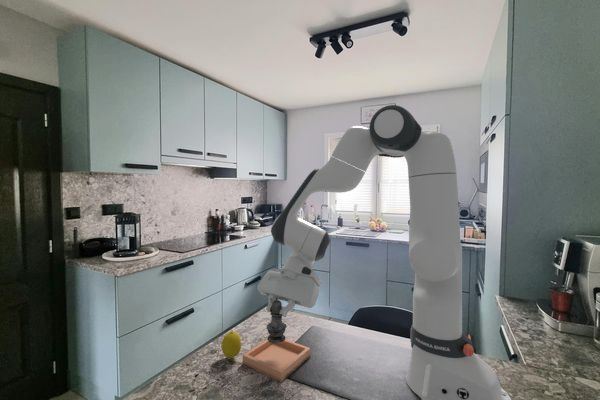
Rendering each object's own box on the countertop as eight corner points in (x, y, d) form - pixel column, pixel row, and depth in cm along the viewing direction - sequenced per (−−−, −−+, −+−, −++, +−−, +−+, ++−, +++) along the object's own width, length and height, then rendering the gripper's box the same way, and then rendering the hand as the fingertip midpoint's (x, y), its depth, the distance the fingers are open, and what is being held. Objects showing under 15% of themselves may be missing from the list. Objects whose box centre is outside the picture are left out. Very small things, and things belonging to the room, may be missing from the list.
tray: (310, 356, 81) (310, 348, 81) (281, 382, 69) (281, 372, 69) (274, 342, 89) (274, 335, 89) (242, 363, 77) (242, 354, 77)
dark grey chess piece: (285, 343, 76) (286, 301, 76) (265, 343, 76) (265, 301, 76) (287, 333, 82) (287, 294, 82) (267, 333, 82) (268, 293, 82)
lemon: (236, 365, 76) (236, 336, 76) (218, 362, 78) (218, 334, 78) (244, 354, 82) (244, 327, 82) (227, 352, 83) (227, 326, 83)
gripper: (266, 262, 91) (244, 299, 83) (319, 272, 79) (300, 317, 71) (274, 272, 94) (254, 309, 86) (326, 283, 83) (308, 327, 75)
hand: (275, 313), depth 79 cm, fingers closed on dark grey chess piece, 4 cm apart
